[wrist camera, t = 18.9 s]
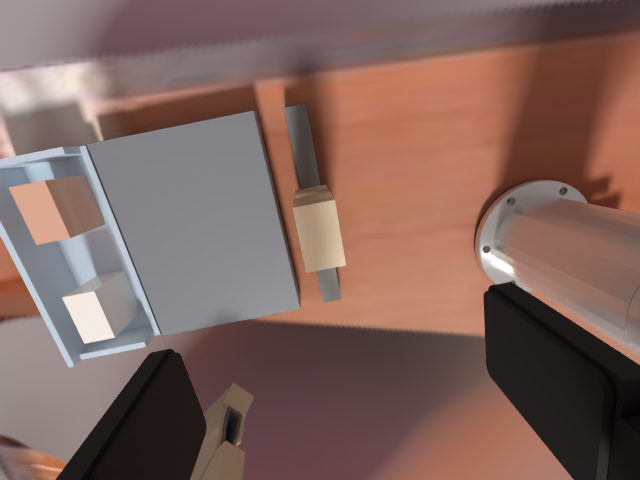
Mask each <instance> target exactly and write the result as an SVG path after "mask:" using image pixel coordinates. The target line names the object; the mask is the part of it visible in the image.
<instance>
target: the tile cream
mask: <svg viewBox="0 0 640 480" xmlns="http://www.w3.org/2000/svg"><path fill="white" fill-rule="evenodd" d="M62 299H63V301H64V303H65V305H66V307H67V309H68V311H69V313H70V315H71V317H72V319H73V321H74V323H75V325H76V327H77V330H78V332H79V334H80V336H81V338H82V340H83V342H84V344H86V343H91V342H96V341H101V340H106V339H111V338H115V337H116V336H117V335H118V334H119V333H120V332H121V331H122V330H123V329H124V328H125V327H126V326H127V325H128V324H129V323H130V322H131V321H132V320H133V319H134V318H135V317H136V316H137V315H138V314H139V313H140V312H141V310H140V307H139V305H138V302H137V300H136V297H135V295H134V292H133V290H132V288H131V285H130V283H129V280H128V278H127V275H126V273H125V270H123V271H118V272H113V273H108V274H103V275H98V276H96V277H94V278H92V279H91V280H89V281H88V282H86V283H84V284H83V285H81V286H80V287H78V288H76V289H75V290H73V291H72V292H70V293H68V294H67V295H65V296H64V297H62Z"/></svg>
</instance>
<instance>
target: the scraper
mask: <svg viewBox="0 0 640 480" xmlns="http://www.w3.org/2000/svg"><path fill="white" fill-rule="evenodd" d="M284 109H285V114H286V119H287V124H288V129H289V134H290V139H291V144H292V149H293V154H294V159H295V164H296V169H297V174H298V179H299V184H300V189H301V190H296V191H295V197H294V202H293V213H294V217H295V222H296V227H297V232H298V236H299V241H300V246H301V251H302V255H303V260H304V265H305V269H306V273H309V272H314V271H317V274H318V279H319V284H320V289H321V294H322V299H323V303H324V302H329V301H334V300H340V299H341V295H340V289H339V284H338V278H337V272H336V267H341V266H346V263H345V257H344V252H343V246H342V240H341V234H340V228H339V222H338V216H337V210H336V204H335V199H334V198H333V196H332V194H331V193H330V191H329V189H328V187H327V186H326V185H322V186H321V184H320V178H319V173H318V167H317V162H316V156H315V151H314V145H313V139H312V134H311V128H310V123H309V117H308V112H307V106H306V104H301V105H295V106H290V107H285V108H284Z"/></svg>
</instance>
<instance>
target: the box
mask: <svg viewBox="0 0 640 480" xmlns="http://www.w3.org/2000/svg"><path fill="white" fill-rule="evenodd" d="M82 175H86V177H87V180H88V182H89V185H90V187H91V189H92V192H93V194H94V197H95V199H96V202H97V204H98V207H99V209H100V212H101V214H102V216H103V219H104V221H105V225H102V226H100V227H97V228H95V229H92V230H90V231H87V232H85V233H82V234H80V235H77V236H75V237H72V238H69V239H64V240H59V241H54V242H49V243H43V244H38V245H36V243H35V241H34V239H33V237H32V235H31V233H30V231H29V229H28V227H27V225H26V223H25V220H24V218H23V216H22V214H21V212H20V210H19V208H18V206H17V204H16V202H15V200H14V198H13V196H12V194H11V192H10V190H9V187H14V186H19V185H24V184H29V183H34V182H39V181H44V180H51V179H59V178H66V177H74V176H82ZM0 236H1V238H2V240H3V242H4V244H5V246H6V247H7V249H8V251H9V253H10V255H11V257H12V259H13V261H14V263H15V265H16V267H17V269H18V271H19V273H20V274H21V276H22V278H23V280H24V282H25V284H26V286H27V288H28V290H29V292H30V294H31V296H32V298H33V299H34V301H35V303H36V305H37V307H38V309H39V311H40V313H41V315H42V317H43V319H44V321H45V323H46V324H47V326H48V328H49V330H50V332H51V334H52V336H53V338H54V340H55V342H56V344H57V346H58V348H59V350H60V351H61V353H62V355H63V357H64V359H65V361H66V363H67V365H68V367H73V366H75V365H76V364H77V363H78V362H79V361H80V360H82V359H87V358H92V357H97V356H102V355H107V354H112V353H117V352H123V351H127V350H133V349H138V348H143V347H146V346H147V345H148V344H149V343H150V341H151V340H152V339H153V337H154V336H155V335H160V334H161V333H162V332H161V330H160V327H159V325H158V322H157V320H156V317H155V315H154V312H153V310H152V307H151V305H150V302H149V300H148V297H147V295H146V292H145V290H144V287H143V284H142V282H141V279H140V277H139V274H138V272H137V269H136V267H135V264H134V262H133V259H132V257H131V254H130V252H129V249H128V247H127V244H126V242H125V239H124V237H123V234H122V232H121V229H120V226H119V224H118V221H117V219H116V216H115V214H114V211H113V209H112V206H111V204H110V201H109V199H108V196H107V194H106V191H105V189H104V186H103V184H102V181H101V179H100V176H99V174H98V171H97V168H96V166H95V163H94V161H93V158H92V156H91V153H90V151H89V148H88V146H87V145H85V146H80V147H58V148H53V149H48V150H43V151H39V152H34V153H29V154H24V155H19V156H14V157H9V158H4V159H0ZM123 270H125V273H126V275H127V278H128V280H129V283H130V285H131V288H132V290H133V292H134V295H135V297H136V300H137V302H138V305H139V307H140V310H141V312H140V313H139V314H138V315H137V316H136V317H135V318H134V319H133V320H132V321H131V322H130V323H129V324H128V325H127V326H126V327H125V328H124V329H123V330H122V331H121V332H120V333H119V334H118V335H117V336H116V337H115V338H111V339H106V340H101V341H96V342H91V343H86V344H84V342H83V340H82V338H81V336H80V334H79V332H78V330H77V327H76V325H75V323H74V321H73V319H72V317H71V315H70V313H69V311H68V309H67V307H66V305H65V303H64V301H63V299H62V297H64V296H65V295H67V294H68V293H70V292H72V291H73V290H75V289H76V288H78V287H80V286H81V285H83V284H84V283H86V282H88V281H89V280H91V279H92V278H94V277H96V276H98V275H103V274H108V273H113V272H118V271H123Z"/></svg>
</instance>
